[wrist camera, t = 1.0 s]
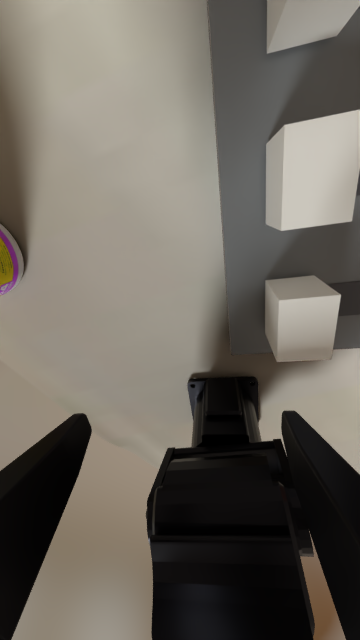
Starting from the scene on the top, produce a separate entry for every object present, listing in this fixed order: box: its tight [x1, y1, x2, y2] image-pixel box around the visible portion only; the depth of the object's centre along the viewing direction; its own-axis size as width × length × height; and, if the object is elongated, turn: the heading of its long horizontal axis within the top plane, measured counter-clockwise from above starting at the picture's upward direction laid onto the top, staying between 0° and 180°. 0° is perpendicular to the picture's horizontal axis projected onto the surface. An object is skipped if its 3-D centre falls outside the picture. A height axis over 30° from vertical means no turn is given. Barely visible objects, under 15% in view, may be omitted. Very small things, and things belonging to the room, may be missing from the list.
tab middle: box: [266, 110, 360, 231], centre depth 12 cm, size 4×3×4 cm
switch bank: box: [207, 0, 360, 355], centre depth 14 cm, size 23×14×2 cm, turn 8°
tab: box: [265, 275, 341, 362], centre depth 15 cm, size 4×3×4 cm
